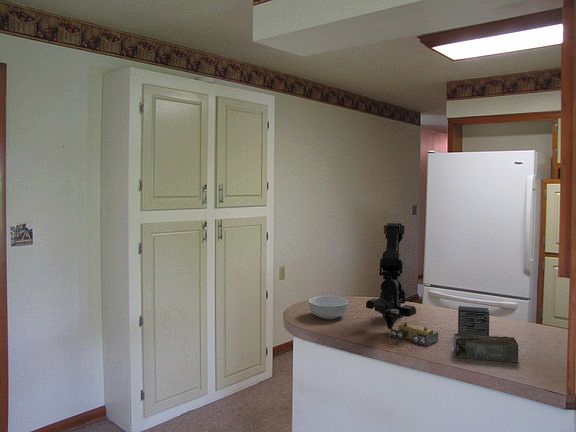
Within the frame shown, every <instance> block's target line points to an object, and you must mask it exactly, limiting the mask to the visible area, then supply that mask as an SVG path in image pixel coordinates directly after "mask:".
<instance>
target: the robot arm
mask: <svg viewBox="0 0 576 432" xmlns="http://www.w3.org/2000/svg"><path fill="white" fill-rule="evenodd" d="M405 227H406V226H405V225H403V223H402V222H400V223H399V222H395V223H394V222H387V224H386V225H385V224H384V225H383V234H384V235H385V239H386V249H385V250H384V251H383V253H382V256H381V258H380V261H379V276H380V277H382V281H381V283H380V296H379V297H378V298H371V299H369V300H367V301H365V309H370V310H373V309H374V311H375V312H378V313H380V314H381V315H382V316H383V318H384V320H385V323H386V326H387V329H388V330H390V331H391V329H393V327H394V325H395V324H396V321H397V319H400V318H402V317H405V318H409V317H411V316H414V315H416V314H417V308H416V307H415V306H413V305H409V304H405V303H406V292H405V289H403V284H402V282H401V281H400V279H399V277H402V274H403V267H404V265H403V263H404V262H402V259H400V244H401V242H402V240H403V239H404V235H405V233H406V232H405V231H406V228H405ZM401 304H402V305H403V306H401ZM404 304H405V305H404Z"/></svg>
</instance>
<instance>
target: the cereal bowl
mask: <svg viewBox="0 0 576 432" xmlns="http://www.w3.org/2000/svg"><path fill="white" fill-rule="evenodd" d="M308 308H309V310H310V312H311V313H312V314H314V316H317V317H319V318H320V319H322V320H335V319H337V318H338V317H341V316H344V314H345V313H347V311H348V310H349V300H348V299H347V298H345V297H344V296H342V297H341V296H338V295H337V296H336V295H318V296H314V297H310V298H309V299H308Z"/></svg>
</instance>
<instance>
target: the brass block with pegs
mask: <svg viewBox="0 0 576 432" xmlns="http://www.w3.org/2000/svg"><path fill="white" fill-rule="evenodd" d="M397 327H398V329H397V330H398V331H402V332H404V339H408V340H411V341H413V335H418V336H422V337H426V336H429V335H431V334H433V333H434V329H431V328H428V327H427V326H424V327H422V326H418V325H414V324H409V323H408V322H401V323H400V324H398V326H397Z"/></svg>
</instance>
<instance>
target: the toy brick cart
mask: <svg viewBox="0 0 576 432" xmlns="http://www.w3.org/2000/svg"><path fill="white" fill-rule="evenodd" d="M390 337H393V338H395V339H401V340H404V339H405V338H404V332H402V331H398V329H394V328H392V329H391V330H390ZM436 342H439V331H434V332H433V334H431V335H429V336H426V337H422V336H418V335H413V340H412V343H416V344H417V345H418V344H419V345H423V346H425V347H429V346H431V345H432V344H435V343H436Z"/></svg>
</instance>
